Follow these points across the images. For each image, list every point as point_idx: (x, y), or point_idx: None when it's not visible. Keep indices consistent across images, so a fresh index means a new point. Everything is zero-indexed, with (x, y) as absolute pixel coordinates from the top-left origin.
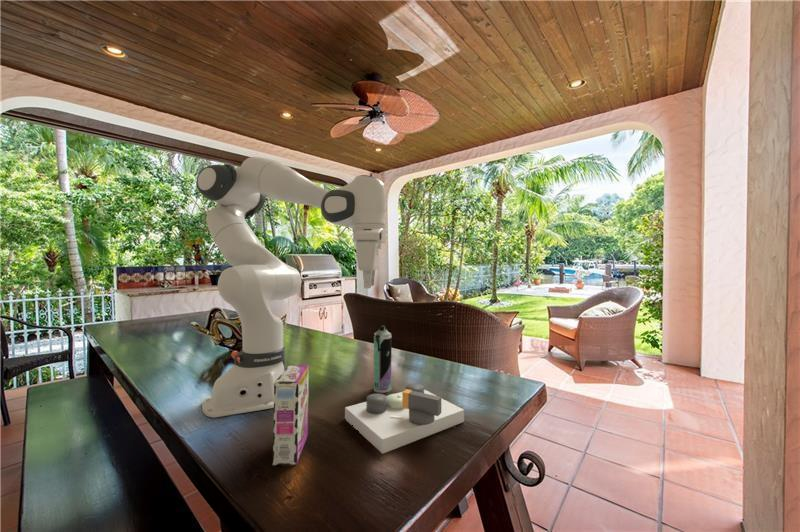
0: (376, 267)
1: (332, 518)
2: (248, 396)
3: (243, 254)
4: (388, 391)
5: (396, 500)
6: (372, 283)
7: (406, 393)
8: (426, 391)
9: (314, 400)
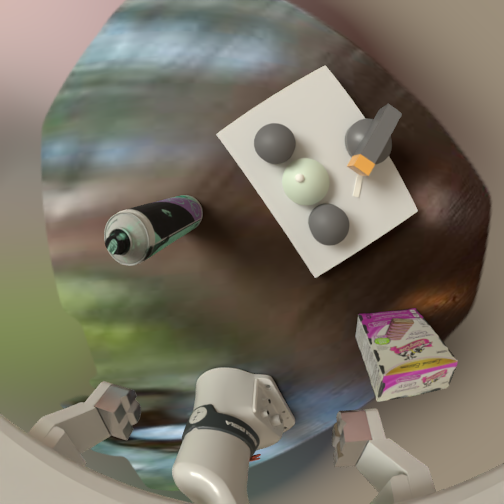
0: (131, 502)
1: (480, 255)
2: (270, 410)
3: None
4: (197, 200)
5: (473, 197)
6: (127, 402)
7: (372, 167)
8: (240, 120)
9: (240, 328)
